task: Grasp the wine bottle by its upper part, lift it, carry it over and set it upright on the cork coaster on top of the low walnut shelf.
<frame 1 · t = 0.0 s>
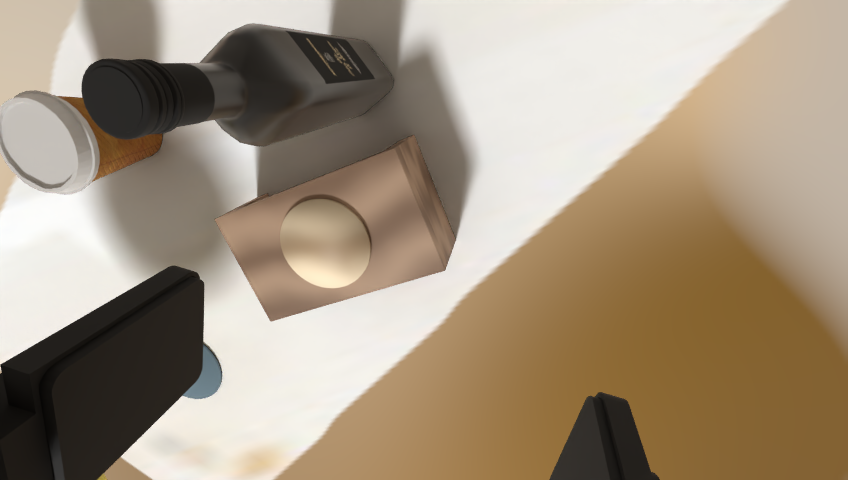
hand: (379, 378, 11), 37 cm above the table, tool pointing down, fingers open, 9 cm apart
wine bottle: (360, 78, 45), on the table
cocktail glass: (188, 365, 64), on the table
walnut shelf: (353, 218, 51), on the table
disposable coffee cup: (139, 129, 52), on the table
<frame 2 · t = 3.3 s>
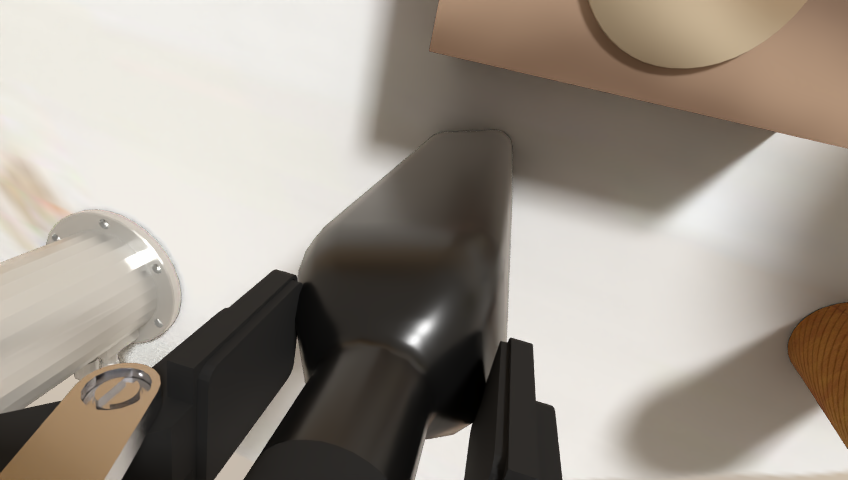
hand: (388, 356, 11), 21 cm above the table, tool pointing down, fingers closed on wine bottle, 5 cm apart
wine bottle: (470, 171, 31), on the table, touching gripper
disposable coffee cup: (839, 341, 31), on the table
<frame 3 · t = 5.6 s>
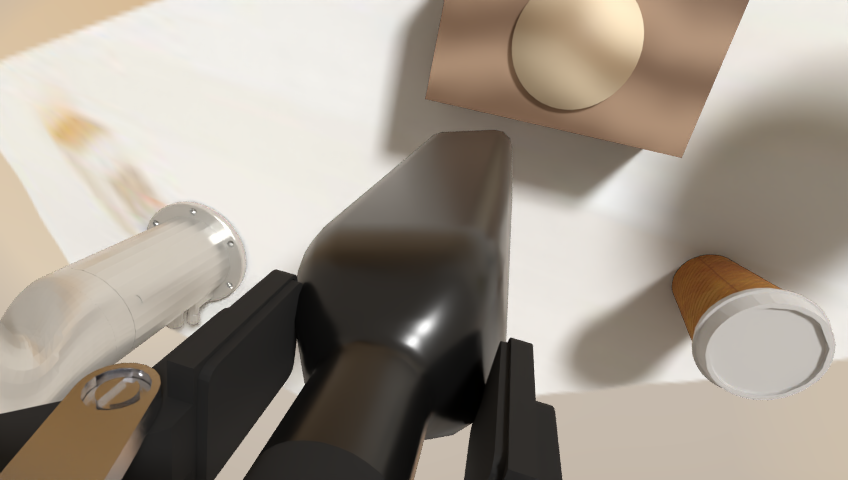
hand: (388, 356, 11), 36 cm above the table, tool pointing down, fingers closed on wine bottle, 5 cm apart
wine bottle: (470, 171, 31), point 14 cm above the table, touching gripper
walnut shelf: (564, 48, 40), on the table
disposable coffee cup: (705, 282, 45), on the table
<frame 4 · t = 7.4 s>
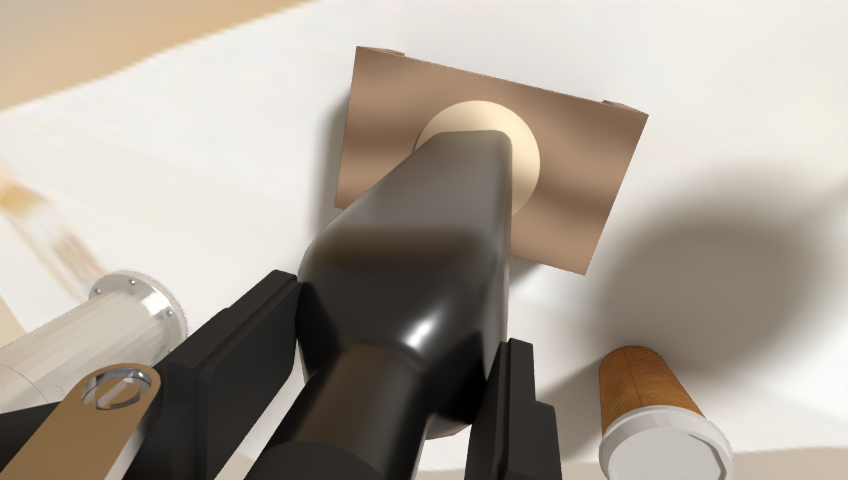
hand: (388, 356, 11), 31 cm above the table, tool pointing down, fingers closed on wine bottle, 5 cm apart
wine bottle: (470, 171, 31), point 10 cm above the table, touching gripper
walnut shelf: (483, 146, 40), on the table
disposable coffee cup: (632, 371, 45), on the table
when the fingers open (31 cm above the table, at t = 8.1 s): wine bottle drops 1 cm, resting on walnut shelf.
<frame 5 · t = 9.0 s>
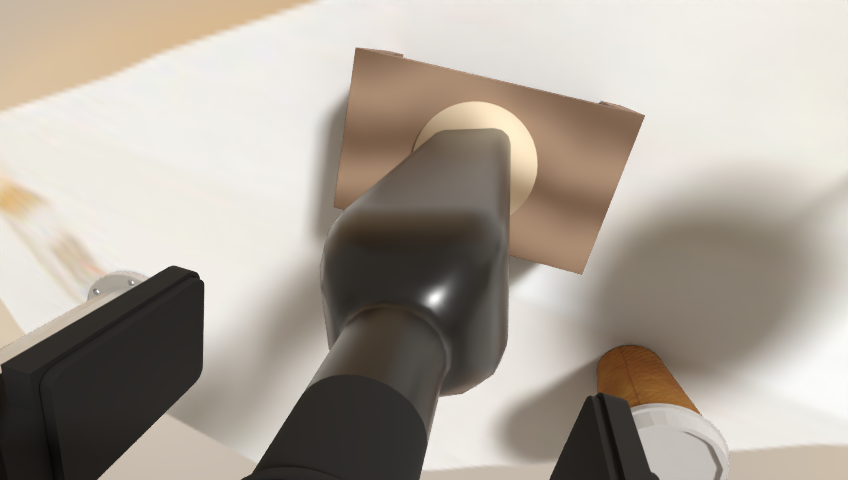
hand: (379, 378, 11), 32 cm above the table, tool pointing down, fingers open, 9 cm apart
wine bottle: (470, 168, 33), point 8 cm above the table, touching walnut shelf
walnut shelf: (481, 147, 40), on the table
disposable coffee cup: (629, 370, 45), on the table
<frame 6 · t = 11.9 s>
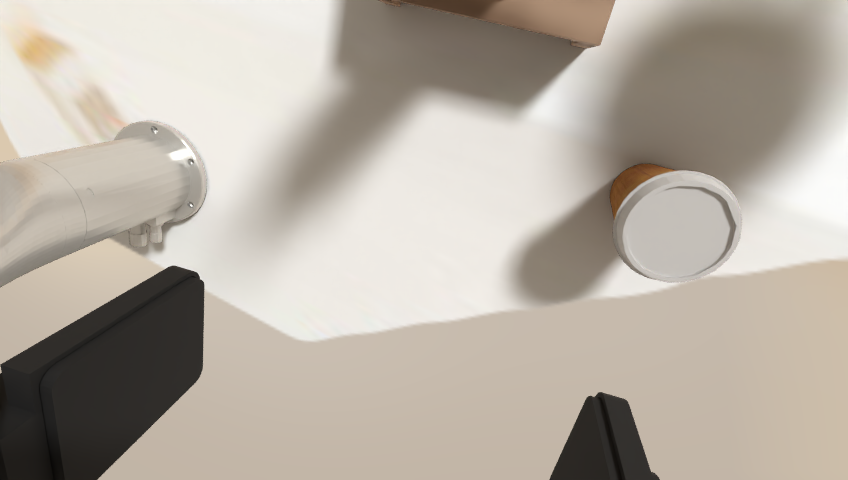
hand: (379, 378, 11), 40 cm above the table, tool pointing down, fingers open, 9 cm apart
disposable coffee cup: (641, 193, 47), on the table
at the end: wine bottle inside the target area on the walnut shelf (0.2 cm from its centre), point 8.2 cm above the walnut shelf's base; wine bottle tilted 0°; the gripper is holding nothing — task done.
